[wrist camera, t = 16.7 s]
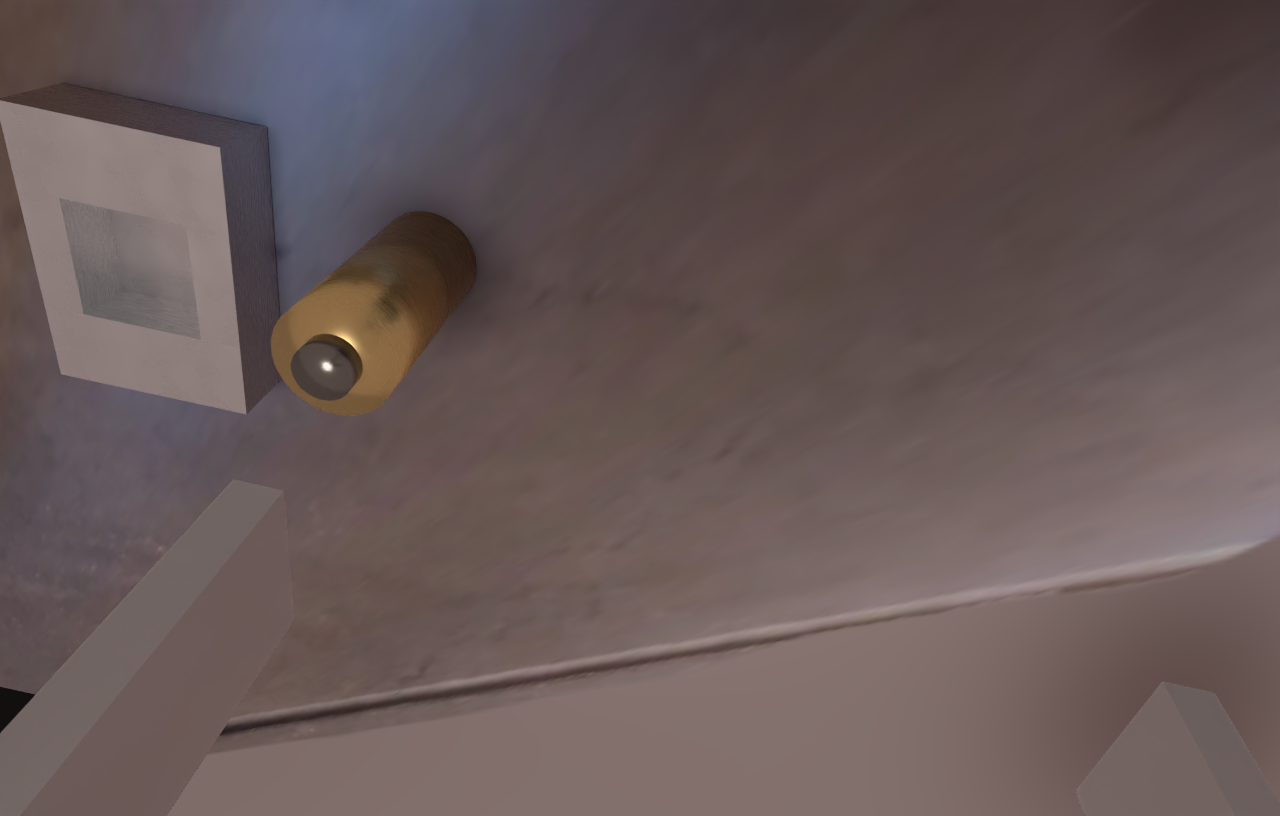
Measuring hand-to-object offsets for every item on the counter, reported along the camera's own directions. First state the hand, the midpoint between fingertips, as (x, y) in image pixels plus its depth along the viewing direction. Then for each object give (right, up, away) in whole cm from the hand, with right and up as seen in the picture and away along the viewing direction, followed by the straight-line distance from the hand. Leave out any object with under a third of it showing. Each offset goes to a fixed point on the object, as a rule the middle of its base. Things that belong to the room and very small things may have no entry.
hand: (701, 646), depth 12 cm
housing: (-25, +12, +30) cm, 41 cm away
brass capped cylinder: (-12, +11, +29) cm, 33 cm away
